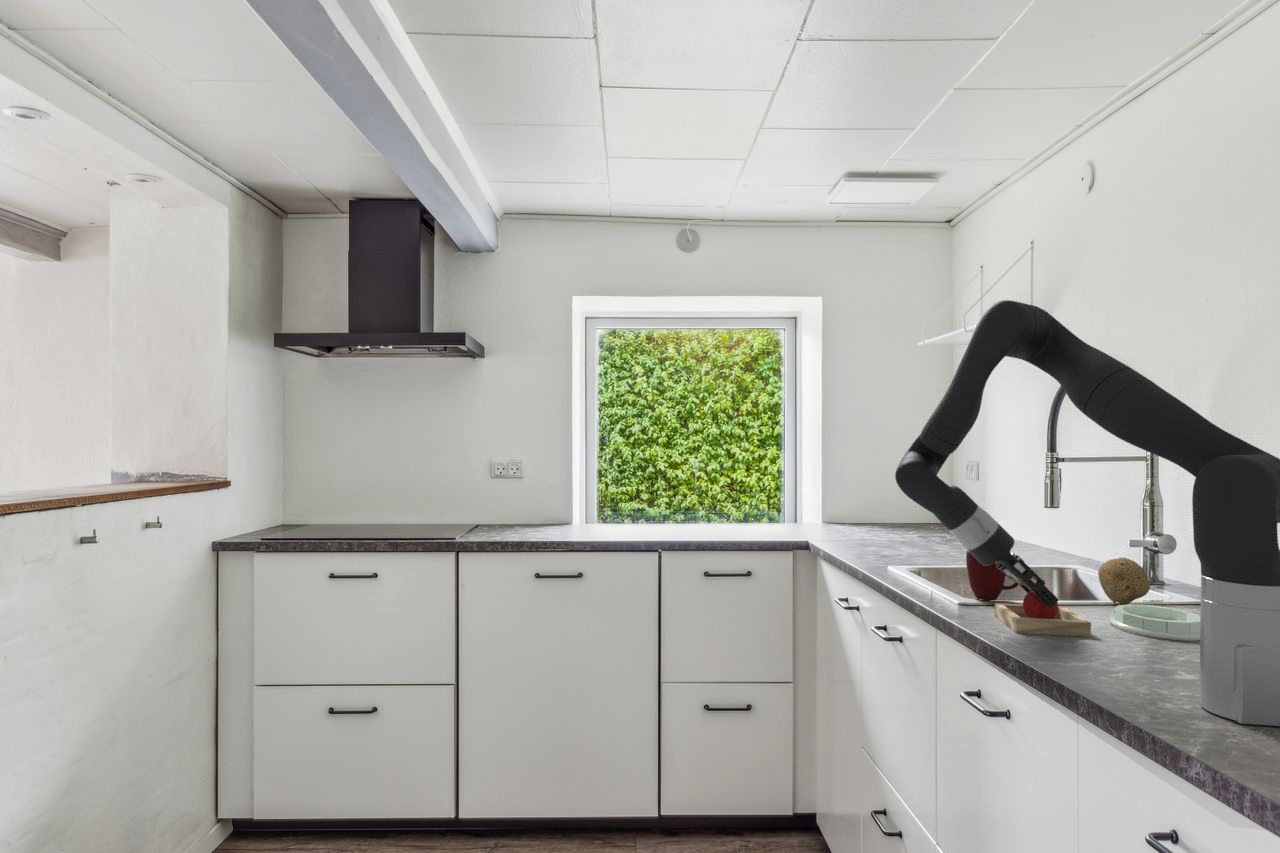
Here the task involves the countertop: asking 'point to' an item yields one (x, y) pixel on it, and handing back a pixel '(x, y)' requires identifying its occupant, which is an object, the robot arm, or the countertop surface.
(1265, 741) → the countertop surface
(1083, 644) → the countertop surface
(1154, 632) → the dish
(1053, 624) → the holder
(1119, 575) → the natural sponge
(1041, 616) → the onion
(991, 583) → the mug
